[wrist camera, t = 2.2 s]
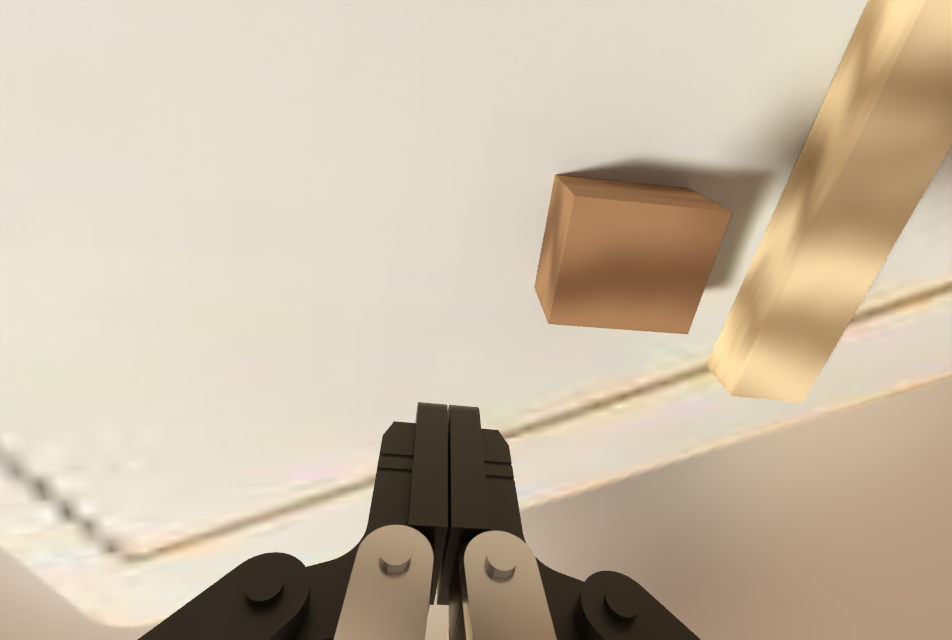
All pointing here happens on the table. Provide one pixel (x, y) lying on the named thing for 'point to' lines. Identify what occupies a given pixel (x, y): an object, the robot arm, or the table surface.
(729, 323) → the ash board
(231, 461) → the table surface
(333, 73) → the table surface
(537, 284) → the walnut block
